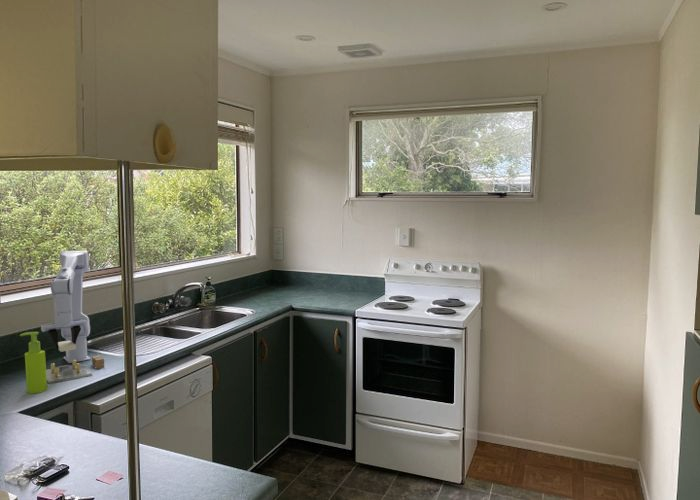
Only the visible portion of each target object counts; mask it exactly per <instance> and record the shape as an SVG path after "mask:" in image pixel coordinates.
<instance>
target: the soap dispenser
mask: <svg viewBox="0 0 700 500" xmlns="http://www.w3.org/2000/svg"><path fill="white" fill-rule="evenodd" d="M39 333H40V331H26V332H24V333H20V334H19V337H24V336H30V341H29V342H28V351H27V352H25V353H24V362H25V377H26V393H27V394H31V395H32V394H39V393H43V392H45V391H47V390H48V382H47V377H46V370H47V366H46V365H47V364H46V351H45V350H44V349H43V350H42V349H41V341H40V340H38V335H39Z"/></svg>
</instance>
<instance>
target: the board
mask: <svg viewBox="0 0 700 500" xmlns="http://www.w3.org/2000/svg"><path fill="white" fill-rule="evenodd" d="M74 349H76V345H75V344H74V343H73V342H71V341H70V340H68V341H66V340H64V341H58V351H59V352H60V353H61V352H66V351H68V350H74Z"/></svg>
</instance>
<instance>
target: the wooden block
mask: <svg viewBox="0 0 700 500" xmlns="http://www.w3.org/2000/svg"><path fill="white" fill-rule="evenodd" d="M91 363H92V364H91V365H92V366H93V367H94V368H95V369H102V368H105V358H103V357H102V356H101V355H95V356H91Z"/></svg>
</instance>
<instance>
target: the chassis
mask: <svg viewBox="0 0 700 500" xmlns="http://www.w3.org/2000/svg"><path fill="white" fill-rule="evenodd" d="M55 364H56V363H54V362H53V363H50V368H49V369H46V377H47V384H49V385H50V384H54V383H55V384H56V383H59V382H66V381H70V380H75V379H80V378H85V377H92V376H93V373H92V372H91V371H90V370H89V369H88V368H86V367H85V366H84V365H83V364H82V363H81V362H76V360H72V363H71V364H72V365H71V364H70V365H69V364H65V365H59V366H56V365H55Z"/></svg>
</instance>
